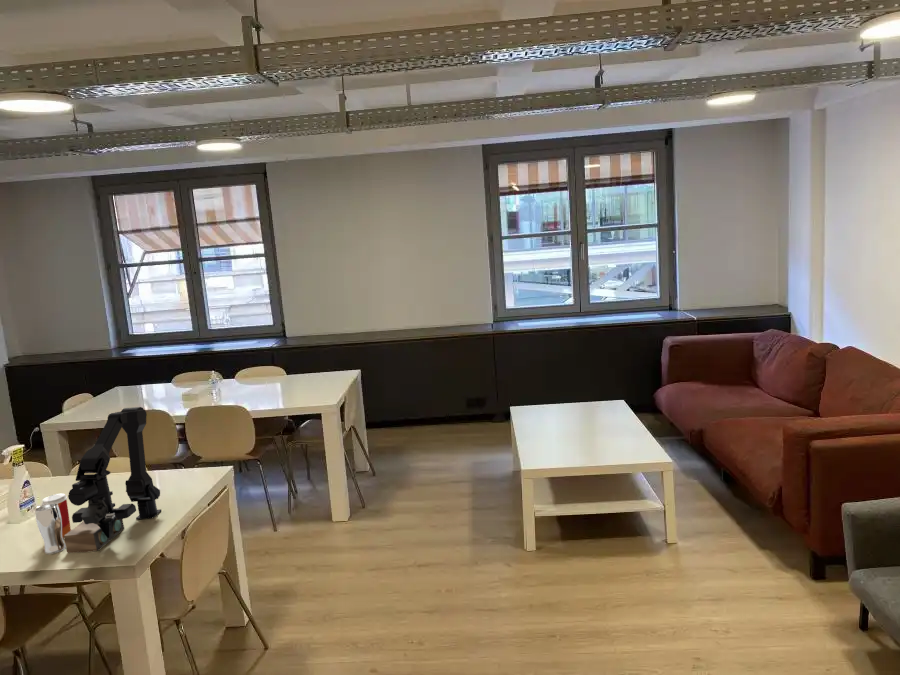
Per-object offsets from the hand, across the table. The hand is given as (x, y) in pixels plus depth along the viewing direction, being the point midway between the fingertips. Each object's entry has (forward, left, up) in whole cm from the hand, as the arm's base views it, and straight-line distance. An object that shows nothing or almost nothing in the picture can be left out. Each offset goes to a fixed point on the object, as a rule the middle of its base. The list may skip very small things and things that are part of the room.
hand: (109, 537), depth 222 cm
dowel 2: (-8, -6, -1) cm, 10 cm away
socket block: (-4, -7, -3) cm, 9 cm away
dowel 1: (0, -6, -1) cm, 6 cm away
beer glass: (+1, -18, -3) cm, 19 cm away
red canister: (-10, -23, -3) cm, 26 cm away
